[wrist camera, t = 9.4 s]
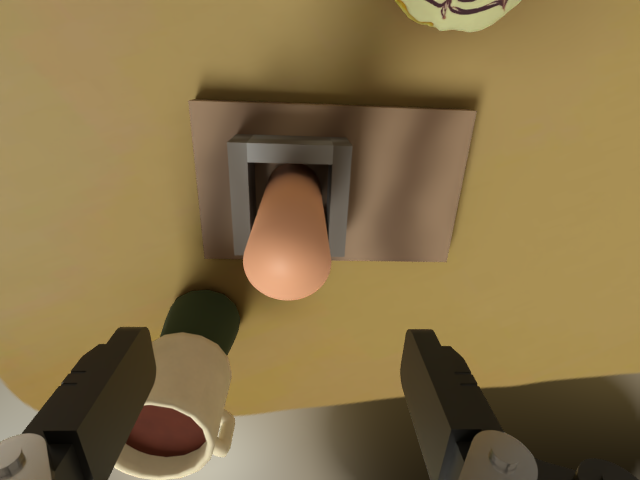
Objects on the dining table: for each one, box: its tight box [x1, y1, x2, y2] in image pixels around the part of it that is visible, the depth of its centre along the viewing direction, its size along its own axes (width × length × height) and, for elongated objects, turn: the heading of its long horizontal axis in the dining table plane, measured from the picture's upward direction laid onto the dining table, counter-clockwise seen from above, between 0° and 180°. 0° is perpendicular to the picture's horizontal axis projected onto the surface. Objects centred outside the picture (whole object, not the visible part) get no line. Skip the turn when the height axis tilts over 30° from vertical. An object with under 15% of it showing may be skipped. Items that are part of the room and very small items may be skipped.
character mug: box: [114, 290, 240, 480], centre depth 28 cm, size 11×7×13 cm, turn 40°
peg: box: [243, 163, 331, 300], centre depth 22 cm, size 4×4×12 cm
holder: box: [188, 99, 477, 262], centre depth 27 cm, size 20×12×5 cm, turn 88°
